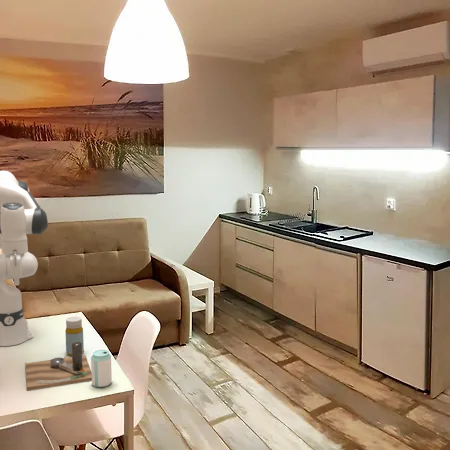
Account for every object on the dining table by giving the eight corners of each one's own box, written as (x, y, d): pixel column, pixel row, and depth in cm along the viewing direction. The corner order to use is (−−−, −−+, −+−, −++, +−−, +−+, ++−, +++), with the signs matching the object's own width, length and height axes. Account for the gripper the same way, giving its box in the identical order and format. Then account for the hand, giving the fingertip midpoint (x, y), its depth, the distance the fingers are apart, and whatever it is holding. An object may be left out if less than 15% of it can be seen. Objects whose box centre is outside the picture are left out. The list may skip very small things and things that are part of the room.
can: (99, 378, 194) (98, 347, 192) (115, 381, 192) (114, 350, 190) (88, 386, 188) (86, 354, 186) (104, 389, 185) (103, 357, 183)
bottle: (78, 357, 212) (77, 322, 210) (63, 356, 214) (61, 321, 212) (86, 351, 219) (85, 316, 217) (71, 349, 221) (70, 315, 218)
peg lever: (47, 365, 201) (46, 337, 199) (58, 361, 205) (57, 333, 203) (79, 378, 190) (78, 348, 189) (90, 373, 194) (89, 344, 193)
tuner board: (25, 366, 204) (25, 362, 204) (85, 357, 212) (85, 354, 212) (27, 390, 184) (26, 387, 183) (93, 380, 192) (93, 376, 192)
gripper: (24, 252, 181) (26, 290, 183) (23, 242, 200) (25, 277, 202) (5, 253, 179) (7, 292, 181) (5, 243, 197) (7, 278, 199)
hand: (16, 284), depth 191 cm, fingers closed
